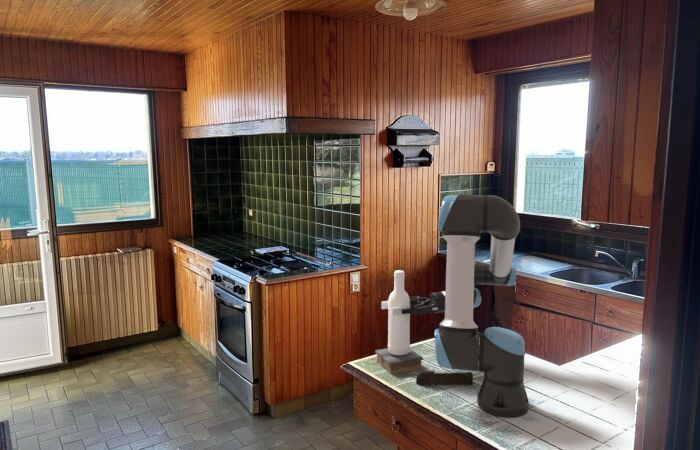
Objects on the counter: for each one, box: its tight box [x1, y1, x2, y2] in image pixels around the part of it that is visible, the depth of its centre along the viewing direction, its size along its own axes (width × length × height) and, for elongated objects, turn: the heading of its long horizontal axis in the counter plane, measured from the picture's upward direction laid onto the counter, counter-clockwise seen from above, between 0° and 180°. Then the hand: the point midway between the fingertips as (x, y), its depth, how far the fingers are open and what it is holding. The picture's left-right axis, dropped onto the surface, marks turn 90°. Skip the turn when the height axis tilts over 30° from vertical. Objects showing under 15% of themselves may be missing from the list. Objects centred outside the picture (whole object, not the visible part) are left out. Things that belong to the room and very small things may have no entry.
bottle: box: [387, 269, 411, 355], centre depth 183 cm, size 8×8×30 cm
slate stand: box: [374, 347, 424, 375], centre depth 185 cm, size 13×13×4 cm
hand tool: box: [415, 370, 474, 386], centre depth 171 cm, size 19×4×5 cm, turn 90°
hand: (387, 308), depth 181 cm, fingers open, 8 cm apart
